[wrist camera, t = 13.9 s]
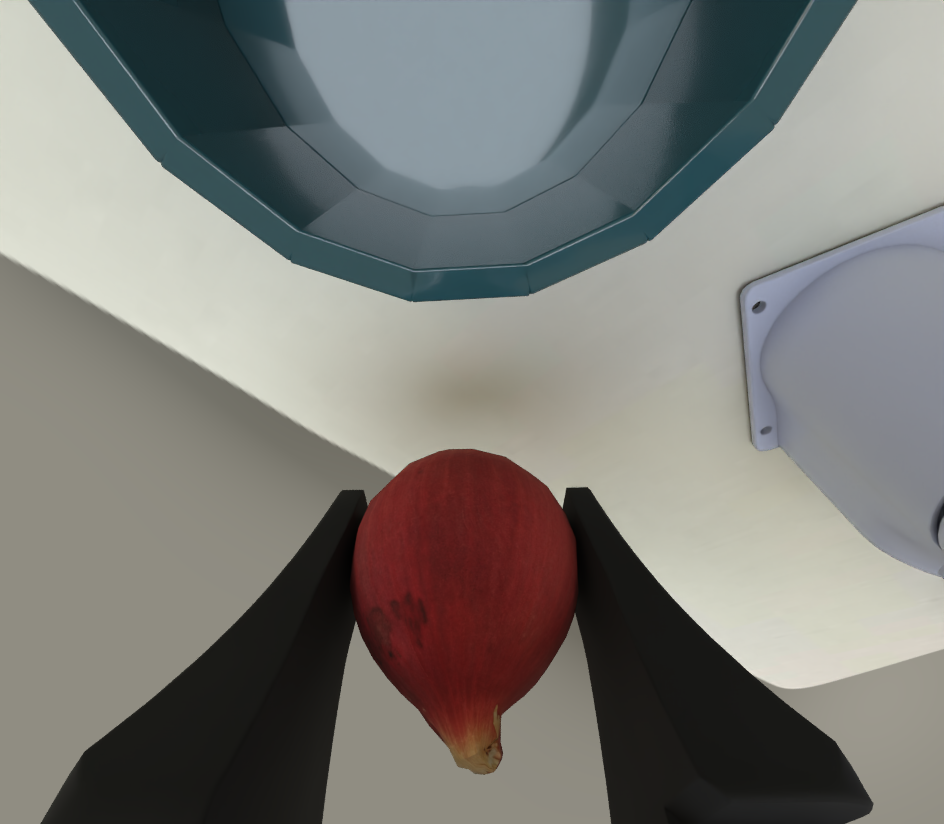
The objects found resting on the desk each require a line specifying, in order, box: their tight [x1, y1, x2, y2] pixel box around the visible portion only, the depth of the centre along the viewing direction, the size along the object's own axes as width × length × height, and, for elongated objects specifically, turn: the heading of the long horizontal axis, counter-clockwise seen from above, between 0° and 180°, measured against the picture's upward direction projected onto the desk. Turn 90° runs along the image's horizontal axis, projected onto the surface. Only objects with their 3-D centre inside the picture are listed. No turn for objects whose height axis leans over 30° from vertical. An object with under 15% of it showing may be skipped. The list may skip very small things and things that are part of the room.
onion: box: [350, 449, 578, 775], centre depth 11 cm, size 6×6×8 cm
